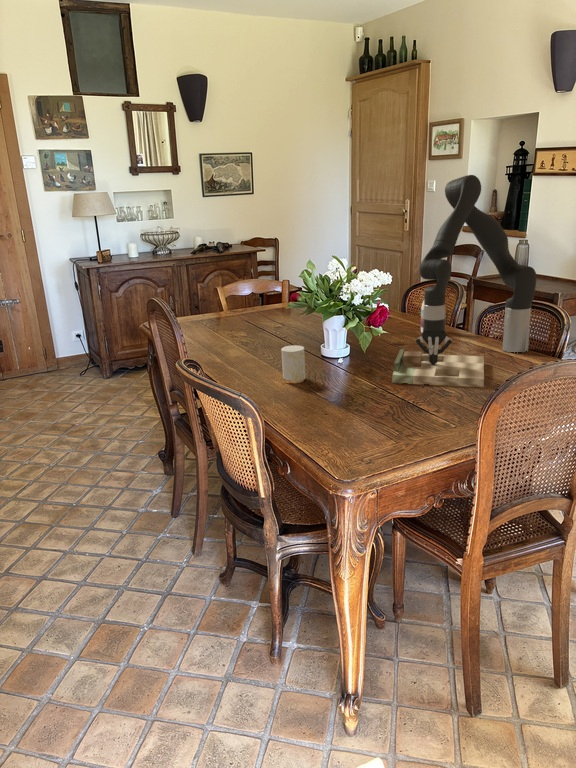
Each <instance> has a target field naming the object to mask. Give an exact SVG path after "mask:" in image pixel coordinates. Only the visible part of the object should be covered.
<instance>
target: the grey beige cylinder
mask: <svg viewBox="0 0 576 768" xmlns="http://www.w3.org/2000/svg"><path fill="white" fill-rule="evenodd" d="M280 352H281V365H282V379H283V378H284V379H286V380H291V381H299V380H303V379H305V378H307V377H306V362H305V361H306V358H305V357H306V356H305V346H303V345H296V344H295V345H286V346H283V347H282V348H281V351H280Z"/></svg>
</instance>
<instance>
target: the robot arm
mask: <svg viewBox="0 0 576 768" xmlns="http://www.w3.org/2000/svg"><path fill="white" fill-rule="evenodd" d="M481 193H482V184H481V181H480V178H478V176H476V175H475V174H467V175H464V176H461V177H457V178H455V179H452V180H450V181H449V182H447V183H446V185H445V187H444V195H445V198H446V200H447V202H448V203H449V205H450V206H451V208H452V209H453V211H452V212H451V213H450V215H449V216H448V217H447V218H446V220H444V222H443V223H442V225H441V226H440V228H439V229H438V232H437V234H436V237H435V239H434V242H433V245H432V247H431V248H430V249H429V251H428V252H427V253H426V254H425V257H423V259H422V261H421V262H420V265H419V270H418V271H419V275H420V277H421V278H422V279H423V280H430V281H432V280H434V281H436V283H435V285H432V286H431V285H430V286H428V287H426V288H425V289H424V295H423V296H424V297H423V298H424V299H423V301H424V310H423V333H421V335H420V336H419V337H417V338H416V340H415V343H416V344H417V345H418V346H419V348H420V349H421V350H422V352H423V353H425V354H429V362H430V363H431V365H435V364H436V363H437V361H438V355H441V354H443V353H444V352H445V350H446V349H447V348H448V347H449V346H450V345H451V343H452V342H453V339H452V338H451V337H449V336H447V332H446V314H447V313H446V312H447V311H446V291H447V289H448V284H449V281H450V278H451V274H452V265H451V263H450V261H449V260H447V259H446V258H449V257H451V255H453V252H454V251H455V250H454V249H455V246H456V244H457V241H458V238H459V236H460V234H461V231H462V229H463V227H464V225H465V224H466V225H467V227H468V228H469V230H470V231H471V232H472V234H473V236H474V237H475V239H476V240H477V242H478V243H479V245H480V246H481V248H482V249H483V250H484V252H485V253H486V254H487V256H488V257H489V258H490V260H491V262H492V263H493V264H494V266H495V268H496V270H497V272H498V274H499V277H500V278H501V280H502V281H503V283H504V285H505V286H506V287H508V288H510V289H513V294H512V297H510V298H507V299H506V300H505V308H504V324H503V339H502V351H504V352H507V353H511V352H514V354H515V352H517V353H516V354H519V353H518V352H522V353H528V352H529V342H530V331H531V330H530V322H531V310H532V303H533V301H534V298H535V293H536V285H537V272H536V270H535V269H534V268H533V267H531V266H529V265H523V264H519V263H518V262H517V261H516V260H515V259H514V257H513V256H512V254H511V253H510V249H509V239H508V235H507V233H506V231H505V230H504V228H503V227H502V226H501V223H500V222H499V221H498V220H497V219H495V218H494V217H492V216H491V215H489V214H487V213H485V212H484V211H482V210H480V209H479V208H478V207H476V204H477V202H478V201H479V197H480V196H481ZM424 342H425V343H426V344H427V345H428V347H427V346H426V344H425V343H424ZM443 342H444V344H443V345H442V346H441V347H440V348H439V346H440V345H441V344H442V343H443ZM526 351H527V352H526Z"/></svg>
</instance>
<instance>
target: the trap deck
mask: <svg viewBox="0 0 576 768" xmlns="http://www.w3.org/2000/svg"><path fill="white" fill-rule="evenodd" d="M404 353H405V348H400V349H399V352H398V353H397V356H396V358H395V360H394V363H393V373H392V379H391V380H392V384H402V383H408V384H407V385H409V384H410V385H424V384H429V385H428V386H445V385H448V386H451V387H468V388H470V387H472V388H474V387H475V388H484V387H485V385H484V384H485V366H484V364H485V363H484V361H485V359H484V358H485V357H484V356H483V355H460V354H459V355H457V354H456V355H454V354H453V355H452V354H438V361H437V363H436V364H435V365H431V363H430V362H429V354H428V353H425V354H424V353H422V363H421V367H403V356H404ZM448 386H447V387H448Z"/></svg>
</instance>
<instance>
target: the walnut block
mask: <svg viewBox="0 0 576 768" xmlns="http://www.w3.org/2000/svg"><path fill="white" fill-rule="evenodd" d="M422 354H423V351H415V350H414V351H413V350H411V351H410V350H407V351H406V350H404V356H403V367H421V363H422Z"/></svg>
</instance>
